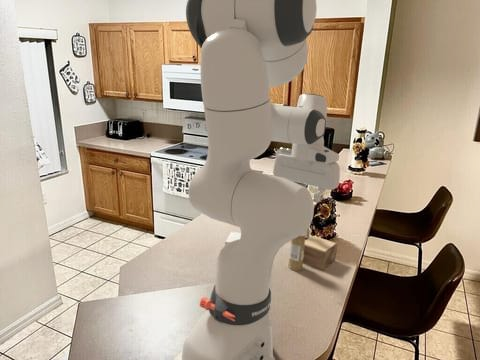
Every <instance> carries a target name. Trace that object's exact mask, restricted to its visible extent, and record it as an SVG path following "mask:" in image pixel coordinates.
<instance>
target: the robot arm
mask: <svg viewBox="0 0 480 360" xmlns="http://www.w3.org/2000/svg"><path fill="white" fill-rule="evenodd" d="M185 17H186V23H187V27H188V30H189V32H190V34H191V36H192V38H193V39H194V41H195V42H196V44H197V45H198V46H199V49H200V87H201V98H202V104H203V110H204V111H203V112H204V116H205V117H204V119H205V126H206V133H207V142H208V143H207V144H208V146H207V147H208V149H207V156H206V160H205V161H204V162H205V163H204V164H203V166H201V167H200V168H199V169H198V170H197V171H196V172H195V173H194V174H193V176H192V177H191V179H190V182H189V187H188V199H189V202H190V204H191V206H192V208H193V209H195V210H197V211H198V212H200V213H201V214H203V215H204V216H206V217H208V218H210V219H211V220H216V221H218V222H222V223H224V224H228V225H232V226H235V227H238V228H239V229H240V233H241V238H240V239H239V240H235V241H232V242H230V243H228V244H226V245H225V244H224V245H223V246H222V247H221V249H220V250H219V252H218V253H217V255H216V263H215V264H216V265H215V284H214V286H213V289H212V291H211V295H210V298H209V299H208V297H206V296H202V298H201V299H200V300H199V304H198V305H199V307H200V308H202V309H205V312H204V313H203V314H202V315H201V317H200V318H199V320H198V321H197V323H195V326H193V328H192V329H191V331H189V333H188V335H187V336H186V337H185V340H184V342H183V346H182V350H181V351H179V353H178V354H177V355H176V356H175V357H174V358H172V360H276V358H275V356H274V351H273V349H274V348H273V347H274V343H273V342H274V340H273V339H274V338H273V337H274V333H273V326H272V322H271V318H270V314H269V312H270V310H271V303H272V291H271V288H270V286H271V277H272V269H273V264H274V261H275V258H276V255H277V254H278V252H279V250H280V249H281V248H282V247H283V246H284V245H286V244H287V243H288V242H291V240H293V239H295V238H297V237H299V236H300V235H301V234H303V233H304V232H305V231H306V229H308V228H309V227H310V226H311V223H312V220H313V217H314V211H315V210H314V209H315V206H314V202H317V203H319V202H321V199H322V195H323V194H324V193H325V192H326V190H329V191H333V190H335V189H337V188H338V187H339V185H340V177H341V175H340V174H341V171H340V169H341V168H340V165H339V163H338V161H339V159H340V154H339V153H337V152H336V151H334V150H331V149H330V148H327V146H325V139H324V136H325V134H326V133H325V132H326V128H327V116H328V113H327V111H328V109H327V108H328V107H327V99H326V97H325V96H323V95H321V94H316V93H303V94H300V95H299V97H298V100H297V105H296V106H290V105H289V106H288V105H278V104H275V103H273V102H271V97H270V89H271V88H273V87H277V86H279V87H280V86H284V85H286V84H287V83H290V82H292V81H294V79H295V78H297V77H298V76H299V75H301V73H302V72H303V70H304V68H305V66H306V64H307V62H308V54H309V53H308V51H309V50H308V41H307V39H308V37H309V36H310V35H311V33H312V31H313V29H314V26H315V25H314V24H315V20H316V17H317V0H187V1H186V7H185ZM271 142H278V143H286V144H290V145H292V146H291V148H286V147H280V148H278V149H277V150H276V152H275V161H274V166H273V171H272V174H273V175H271V174H266V173H262V172H257V171H255V170H253V169H252V168H251V163H250V161H252V160H253V159H256V158H258V157H259V156H261V155H263V154H264V153H265V152H266V150H267V149H268V148H269V147H270V145H271ZM299 183H300V184H299ZM301 184H302V185H301ZM303 185H308V186H311V187H315V188H317V191H318V193H317V194H316V193H315V194H314V195H313V197H312V194H311V192H310V191H309V190H308V188H307V187H305V186H303ZM306 232H307V231H306Z"/></svg>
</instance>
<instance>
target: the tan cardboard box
mask: <svg viewBox="0 0 480 360" xmlns="http://www.w3.org/2000/svg"><path fill="white" fill-rule="evenodd" d="M337 250H338V243H337V242H335V241H330V240H327V239H324V238H322V237H319V236H316V235H312V236H310V237H309V238H307V239H305V244H304V257H303V264H305V265H308V266H310V267H313V268H316V269H318V270H321V271H325V270H326V269H327V268H328V267H329V266H330V265H332V264H333V263H334V262H336V258H337Z"/></svg>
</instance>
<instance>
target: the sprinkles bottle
mask: <svg viewBox="0 0 480 360" xmlns="http://www.w3.org/2000/svg"><path fill="white" fill-rule="evenodd" d="M307 229H308V228H307ZM307 229H306V231H305V232H304V233H303V234H301V235H300V236H299V237H297V238H295V239H293V240H290V245H289V256H288V266H287V267H288V268H289V269H290V270H292V271H301V270H302V269H303V264H304V263H303V257H304V244H305V240H306V235H307Z"/></svg>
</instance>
